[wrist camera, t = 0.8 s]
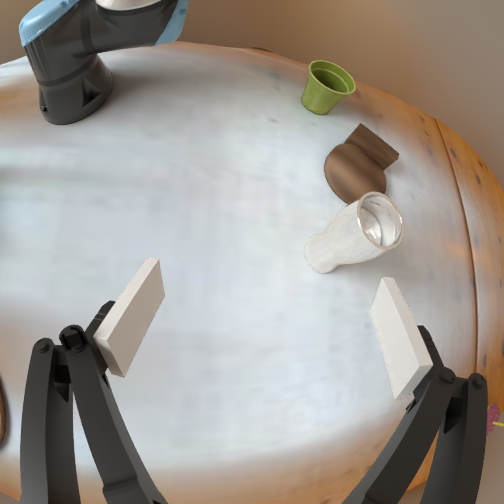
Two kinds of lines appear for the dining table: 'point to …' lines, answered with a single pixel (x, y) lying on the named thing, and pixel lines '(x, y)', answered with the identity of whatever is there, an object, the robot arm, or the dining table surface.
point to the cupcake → (492, 417)
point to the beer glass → (356, 233)
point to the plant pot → (326, 86)
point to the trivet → (2, 417)
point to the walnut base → (359, 165)
